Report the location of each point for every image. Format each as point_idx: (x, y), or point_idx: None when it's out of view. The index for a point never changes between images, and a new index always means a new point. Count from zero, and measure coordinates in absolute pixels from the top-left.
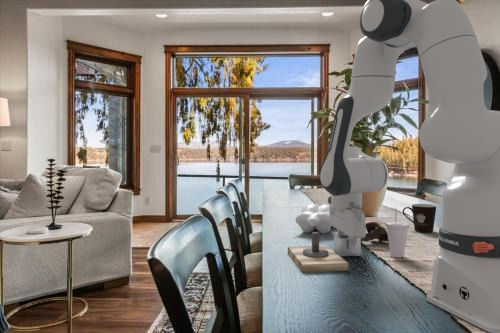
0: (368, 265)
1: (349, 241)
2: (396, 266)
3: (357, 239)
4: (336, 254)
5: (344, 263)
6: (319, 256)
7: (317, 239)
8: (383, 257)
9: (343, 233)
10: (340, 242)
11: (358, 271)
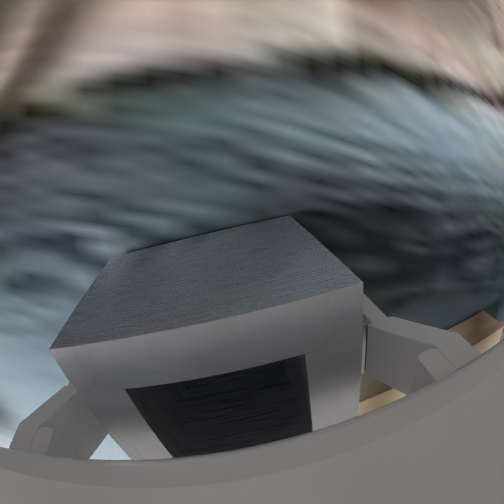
0: (455, 205)
1: (407, 385)
2: (460, 55)
3: (358, 318)
4: (397, 390)
5: (499, 337)
6: None
7: None
8: (287, 28)
9: (55, 425)
10: None
11: (497, 270)
